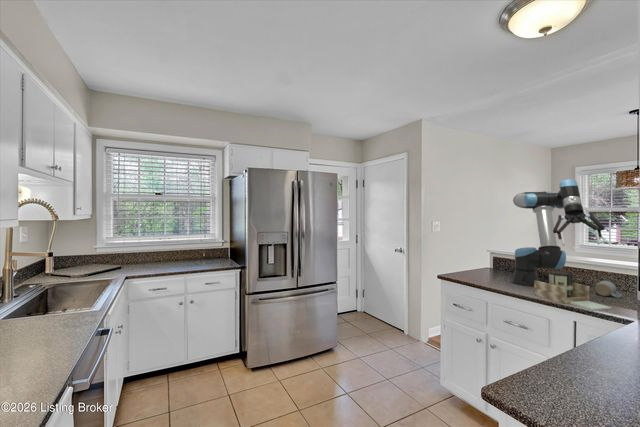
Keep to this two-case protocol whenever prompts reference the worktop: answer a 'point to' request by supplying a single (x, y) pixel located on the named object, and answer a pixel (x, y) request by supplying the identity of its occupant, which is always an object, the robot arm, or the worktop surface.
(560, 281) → the coffee can
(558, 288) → the access box
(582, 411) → the worktop surface
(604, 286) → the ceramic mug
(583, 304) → the trivet
